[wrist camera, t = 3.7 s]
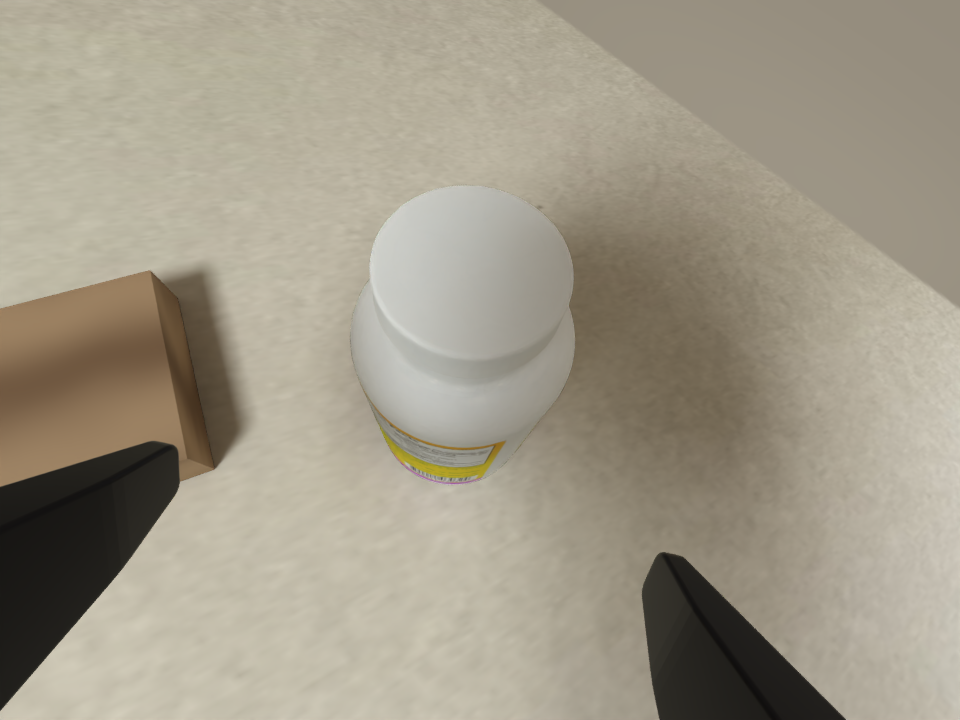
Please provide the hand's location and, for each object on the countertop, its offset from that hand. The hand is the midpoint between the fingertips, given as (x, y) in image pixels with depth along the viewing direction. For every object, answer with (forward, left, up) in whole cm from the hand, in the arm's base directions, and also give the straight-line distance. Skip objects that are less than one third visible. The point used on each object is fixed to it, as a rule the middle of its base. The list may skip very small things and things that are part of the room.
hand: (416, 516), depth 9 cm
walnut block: (+11, +12, -13) cm, 20 cm away
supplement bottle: (+5, -3, -13) cm, 14 cm away
